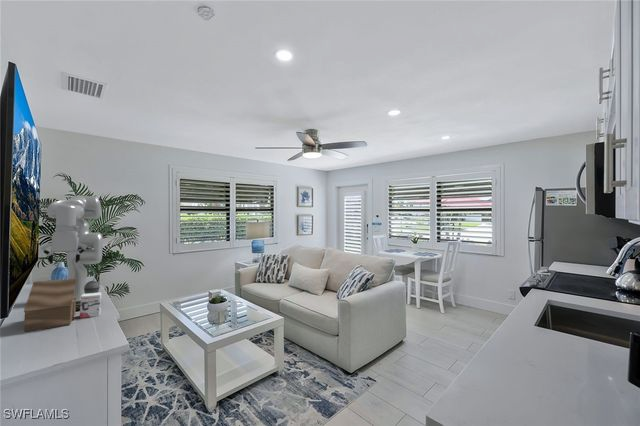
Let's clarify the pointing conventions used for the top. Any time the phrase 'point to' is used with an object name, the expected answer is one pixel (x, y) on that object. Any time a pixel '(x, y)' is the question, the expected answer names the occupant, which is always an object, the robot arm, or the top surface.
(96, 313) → the ink box
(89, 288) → the beverage cup
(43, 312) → the wooden box
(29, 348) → the top surface
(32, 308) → the brown wooden board
